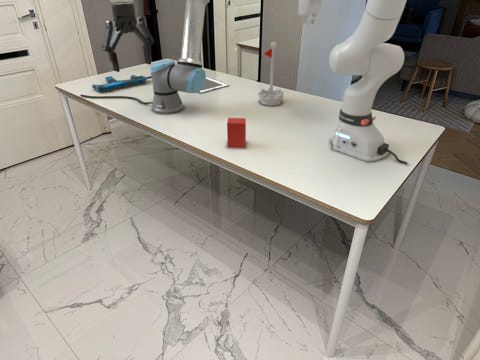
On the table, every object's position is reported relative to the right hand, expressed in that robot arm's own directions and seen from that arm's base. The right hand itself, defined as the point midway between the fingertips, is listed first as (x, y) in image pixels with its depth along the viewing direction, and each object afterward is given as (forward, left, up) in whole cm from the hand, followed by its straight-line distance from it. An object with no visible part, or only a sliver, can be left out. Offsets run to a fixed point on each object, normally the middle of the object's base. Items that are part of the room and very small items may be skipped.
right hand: (308, 25), depth 151 cm
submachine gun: (+94, +60, -39) cm, 118 cm away
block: (-14, +50, -39) cm, 65 cm away
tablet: (+67, +21, -39) cm, 80 cm away
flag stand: (+16, +7, -39) cm, 42 cm away
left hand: (+12, +78, -9) cm, 80 cm away
